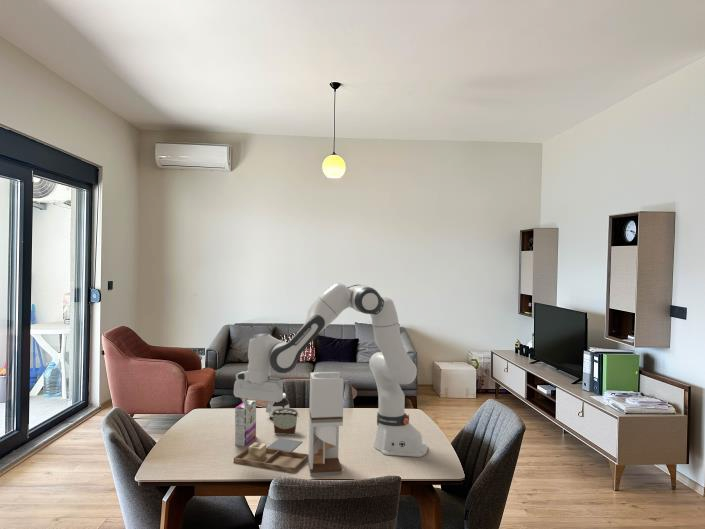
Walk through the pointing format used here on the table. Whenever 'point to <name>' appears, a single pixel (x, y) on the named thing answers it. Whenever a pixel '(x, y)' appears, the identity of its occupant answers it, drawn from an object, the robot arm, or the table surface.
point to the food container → (285, 420)
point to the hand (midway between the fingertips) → (257, 410)
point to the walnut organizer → (275, 460)
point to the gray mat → (285, 444)
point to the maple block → (257, 452)
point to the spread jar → (279, 405)
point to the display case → (325, 423)
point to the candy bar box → (245, 423)
